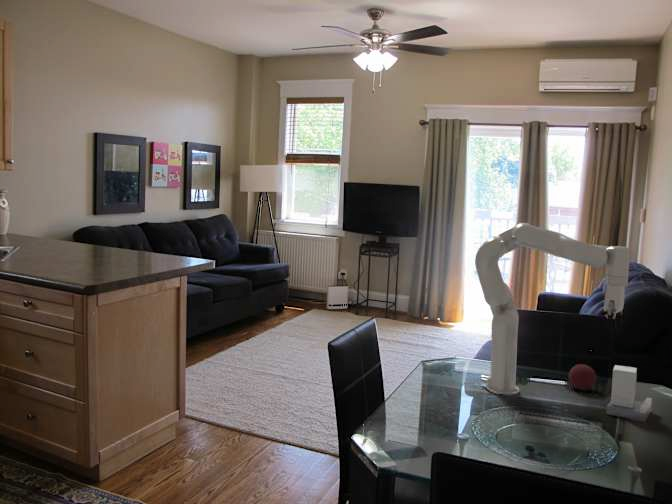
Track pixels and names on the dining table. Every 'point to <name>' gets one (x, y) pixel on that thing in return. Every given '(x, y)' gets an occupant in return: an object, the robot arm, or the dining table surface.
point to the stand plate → (631, 410)
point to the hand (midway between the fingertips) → (613, 327)
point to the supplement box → (623, 386)
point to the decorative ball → (582, 377)
